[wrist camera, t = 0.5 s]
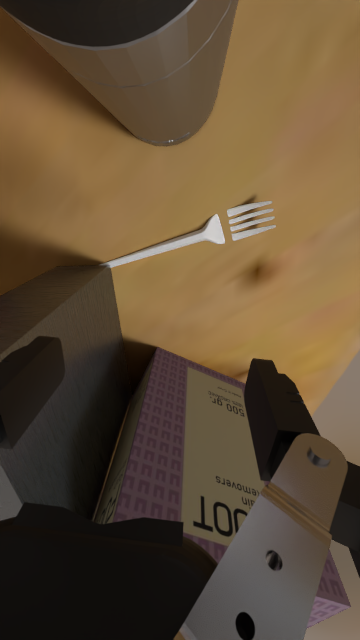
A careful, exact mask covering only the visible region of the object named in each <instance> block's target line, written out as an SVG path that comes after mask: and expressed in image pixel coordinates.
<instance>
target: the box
mask: <svg viewBox="0 0 360 640" xmlns="http://www.w3.org/2000/svg"><path fill="white" fill-rule="evenodd" d="M245 385H246V384H244V383H242V382H240V381H237V380H235V379H233V378H230V377H228V376H225V375H223V374H221V373H218V372H216V371H214V370H211V369H209V368H206V367H204V366H202V365H199V364H197V363H195V362H192V361H190V360H187V359H185V358H183V357H180V356H178V355H176V354H173V353H171V352H169V351H166V350H164V349H161V348H159V347H157V348H156V350H155V352H154V354H153V356H152V358H151V360H150V362H149V364H148V366H147V368H146V370H145V372H144V374H143V376H142V378H141V380H140V382H139V384H138V386H137V388H136V390H135V392H134V394H133V396H132V399H131V402H130V405H129V409H128V412H127V415H126V418H125V422H124V425H123V428H122V431H121V434H120V438H119V441H118V444H117V447H116V451H115V454H114V457H113V460H112V463H111V467H110V470H109V473H108V476H107V480H106V483H105V486H104V489H103V492H102V496H101V499H100V502H99V505H98V508H97V512H96V515H95V518H94V521H93V522H95V523H98V524H106V523H112V522H118V521H124V520H130V519H136V518H142V517H147V518H155V519H163V520H171V521H179V522H184V525H183V536H184V537H187V538H189V539H191V540H192V541H194V542H195V543H197V544H198V545H200V546H201V547H202V548H203V549H205V550H206V551H207V552H208V553H209V554H210V555H211V556H212V557H213V558H214V559H215V560H216V562H217V563H218V564H219V562H220V561H221V559H222V557H223V555H224V554H225V552H226V550H227V549H228V547H229V545H230V544H231V542H232V540H233V538H234V537H235V535H236V533H237V532H238V530H239V528H240V527H241V525H242V523H243V521H244V520H245V518H246V516H247V515H248V513H249V511H250V510H251V508H252V506H253V504H254V503H255V501H256V499H257V498H258V496H259V494H260V493H261V491H262V489H263V488H264V486H265V485H268V484H269V483H270V481H261V480H260V475H259V470H258V465H257V461H256V456H255V451H254V446H253V441H252V437H251V432H250V427H249V422H248V418H247V413H246V408H245V403H244V390H245ZM350 607H351V605H350V602H349V600H348V597H347V595H346V592H345V589H344V587H343V584H342V581H341V579H340V576H339V574H338V571H337V568H336V566H335V563H334V560H333V558H332V555H331V552H330V550H329V551H328V555H327V558H326V562H325V565H324V569H323V572H322V576H321V579H320V583H319V586H318V590H317V593H316V597H315V600H314V604H313V607H312V611H311V614H310V618H309V622H308V625H307V628H309V627H311V626H313V625H315V624H317V623H319V622H321V621H323V620H325V619H327V618H329V617H331V616H333V615H335V614H337V613H339V612H341V611H343V610H346V609H348V608H350Z"/></svg>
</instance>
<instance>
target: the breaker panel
mask: <svg viewBox="0 0 360 640" xmlns="http://www.w3.org/2000/svg"><path fill="white" fill-rule="evenodd" d="M38 336H49V337H58V338H59V339H60V340H61V344H62V350H63V357H64V364H65V375H64V378H63V380H62V382H61V384H60V385H59V386H58V388H57V389H56V390H55V392H54V393H53V395H52V396H51V397H50V399H49V400H48V401H47V403H46V404H45V405H44V407H43V408H42V409H41V411H40V412H39V413H38V415H37V416H36V417H35V419H34V420H33V422H32V423H31V424H30V426H29V427H28V428H27V430H26V431H25V432H24V434H23V435H22V436H21V438H20V439H19V440H18V442H17V443H16V444H15V446H14V447H13V449H12V450H11V449H2V448H0V521H1V520H5V519H8V518H12V517H16V516H17V514H18V512H19V511H20V509H21V507H22V505H23V504H24V502H27V503H35V504H43V505H51V506H59V507H64V508H66V509H68V510H70V511H72V512H74V513H76V514H78V515H81V516H83V517H85V518H87V519H89V520H91V521H94V518H95V515H96V512H97V508H98V505H99V502H100V499H101V496H102V492H103V489H104V486H105V483H106V480H107V476H108V473H109V470H110V467H111V463H112V460H113V457H114V454H115V451H116V447H117V444H118V441H119V438H120V434H121V431H122V428H123V425H124V422H125V418H126V415H127V412H128V409H129V405H130V402H131V399H132V393H131V387H130V381H129V375H128V369H127V363H126V357H125V351H124V345H123V339H122V333H121V327H120V321H119V315H118V309H117V303H116V298H115V292H114V286H113V280H112V274H111V268H110V265H85V266H58V267H55V268H53V269H51V270H49V271H47V272H45V273H44V274H42V275H40V276H38V277H36V278H34V279H32V280H30V281H28V282H26V283H24V284H22V285H20V286H19V287H17V288H15V289H13V290H11V291H9V292H7V293H5V294H3V295H1V296H0V362H1V360H3V359H4V358H5V357H6V356H7V355H9V354H10V353H11V352H13V351H15V350H17V349H19V348H21V347H23V346H27V345H28V344H29V343H31V342H32V341H33V340H34V339H35V338H36V337H38Z"/></svg>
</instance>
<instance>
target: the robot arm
mask: <svg viewBox="0 0 360 640" xmlns="http://www.w3.org/2000/svg"><path fill="white" fill-rule="evenodd" d="M237 4H238V0H0V7H1V8H2V9H3V10H4V11H5V12H6V13H7V14H8V15H9V16H10V17H12V18H13V19H14V20H15V21H16V22H17V23H18V24H19V25H20V26H21V27H22V28H23V29H24V30H25V31H26V32H27V33H28V34H29V35H30V36H31V37H32V38H33V39H34V40H35V41H36V42H37V43H38V44H40V45H41V46H42V47H43V48H44V49H45V50H46V51H47V52H48V53H49V54H50V55H51V56H52V57H53V58H54V59H55V60H56V61H58V62H59V63H60V64H61V65H62V66H63V67H64V68H65V69H66V70H67V71H68V72H69V73H70V74H71V75H72V76H73V77H74V78H75V79H76V80H77V81H78V82H79V83H80V84H81V85H82V86H83V87H84V88H85V89H86V90H87V91H89V92H90V93H91V94H92V95H93V96H94V97H95V98H96V99H97V100H98V101H99V102H100V103H101V104H102V105H103V106H104V107H105V108H106V109H107V110H108V111H109V112H110V113H111V114H112V115H113V116H114V117H115V118H116V119H117V120H118V121H119V122H120V123H122V124H123V125H124V126H125V127H126V128H127V129H128V130H129V131H130V132H131V133H132V134H133V135H134V136H136V137H137V138H139V139H141V140H142V141H144V142H146V143H149V144H152V145H155V146H171V145H176V144H179V143H181V142H183V141H185V140H187V139H189V138H190V137H191V136H193V135H194V134H195V133H196V132H198V130H199V129H200V128H201V127H202V126H203V124H204V123H205V122H206V120H207V118H208V116H209V115H210V113H211V111H212V109H213V106H214V103H215V100H216V97H217V93H218V89H219V84H220V80H221V76H222V72H223V67H224V63H225V58H226V54H227V49H228V45H229V40H230V36H231V31H232V27H233V22H234V18H235V13H236V9H237ZM64 375H65V364H64V357H63V350H62V344H61V340H60V339H59V338H58V337H49V336H38V337H36V338H35V339H34V340H33V341H32V342H31V343H29V344H28V345H27V346H23V347H21V348H19V349H17V350H15V351H13V352H11V353H10V354H9V355H7V356H6V357H5V358H4V359H3V360H1V362H0V448H2V449H11V450H12V449H13V447H14V446H15V444H16V443H17V442H18V440H19V439H20V438H21V436H22V435H23V434H24V432H25V431H26V430H27V428H28V427H29V426H30V424H31V423H32V422H33V420H34V419H35V417H36V416H37V415H38V413H39V412H40V411H41V409H42V408H43V407H44V405H45V404H46V403H47V401H48V400H49V399H50V397H51V396H52V395H53V393H54V392H55V390H56V389H57V388H58V386H59V385H60V384H61V382H62V380H63V378H64ZM244 403H245V408H246V413H247V418H248V422H249V427H250V432H251V437H252V441H253V446H254V451H255V456H256V461H257V465H258V470H259V475H260V480H261V481H270V483H269V484H268V485H265V486H264V488H263V489H262V491H261V493H260V494H259V496H258V498H257V499H256V501H255V503H254V504H253V506H252V508H251V510H250V511H249V513H248V515H247V516H246V518H245V520H244V521H243V523H242V525H241V527H240V528H239V530H238V532H237V533H236V535H235V537H234V538H233V540H232V542H231V544H230V545H229V547H228V549H227V550H226V552H225V554H224V555H223V557H222V559H221V561H220V562H219V564H218V563H217V562H216V560H215V559H214V558H213V557H212V556H211V555H210V554H209V553H208V552H207V551H206V550H205V549H203V548H202V547H201V546H200V545H198V544H197V543H195V542H194V541H192V540H191V539H189V538H187V537H184V536H183V525H184V522H179V521H171V520H163V519H155V518H147V517H142V518H136V519H130V520H124V521H118V522H112V523H106V524H98V523H95V522H93V521H91V520H89V519H87V518H85V517H83V516H81V515H78V514H76V513H74V512H72V511H70V510H68V509H66V508H64V507H59V506H51V505H43V504H35V503H27V502H24V504H23V505H22V507H21V509H20V511H19V512H18V514H17V516H16V517H12V518H8V519H5V520H1V521H0V640H303V639H304V635H305V631H306V629H307V625H308V622H309V618H310V614H311V611H312V607H313V604H314V600H315V597H316V593H317V590H318V586H319V583H320V579H321V576H322V572H323V569H324V565H325V562H326V558H327V555H328V551H329V548H330V544H331V539H332V540H334V541H336V542H338V543H340V544H342V545H344V546H347V547H349V550H350V553H351V556H352V558H353V561H354V564H355V566H356V569H357V572H358V575H359V577H360V466H357V465H355V464H352V463H350V462H348V461H346V459H345V457H344V455H343V454H342V452H341V451H340V450H339V449H338V448H337V447H336V446H335V445H334V444H332V443H331V442H330V441H328V440H327V439H325V438H323V437H321V436H320V434H319V432H318V430H317V428H316V426H315V424H314V422H313V420H312V418H311V416H310V414H309V412H308V410H307V408H306V406H305V404H304V402H303V400H302V397H301V395H299V391H298V389H297V387H296V385H295V383H294V382H293V381H292V380H291V379H289V378H288V377H287V376H286V375H285V374H279V373H278V372H277V369H276V367H275V365H274V362H273V361H272V360H264V359H255V358H253V359H252V361H251V364H250V369H249V373H248V377H247V381H246V385H245V390H244Z"/></svg>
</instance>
